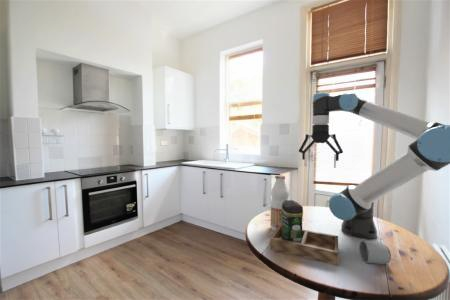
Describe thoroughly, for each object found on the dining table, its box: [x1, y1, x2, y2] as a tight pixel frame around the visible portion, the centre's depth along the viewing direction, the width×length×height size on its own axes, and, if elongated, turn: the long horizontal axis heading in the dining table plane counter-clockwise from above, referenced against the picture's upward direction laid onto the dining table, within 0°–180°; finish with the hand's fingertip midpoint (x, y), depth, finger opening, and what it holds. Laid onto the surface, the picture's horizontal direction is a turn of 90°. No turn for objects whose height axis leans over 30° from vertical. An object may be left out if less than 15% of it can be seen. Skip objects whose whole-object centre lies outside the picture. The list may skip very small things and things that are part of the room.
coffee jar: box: [282, 199, 304, 243], centre depth 94 cm, size 10×8×19 cm
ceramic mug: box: [358, 240, 392, 265], centre depth 84 cm, size 11×8×8 cm
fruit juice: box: [270, 174, 290, 232], centre depth 112 cm, size 9×9×28 cm
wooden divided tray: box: [269, 225, 339, 267], centre depth 92 cm, size 26×15×5 cm, turn 63°
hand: (319, 166), depth 109 cm, fingers open, 13 cm apart
